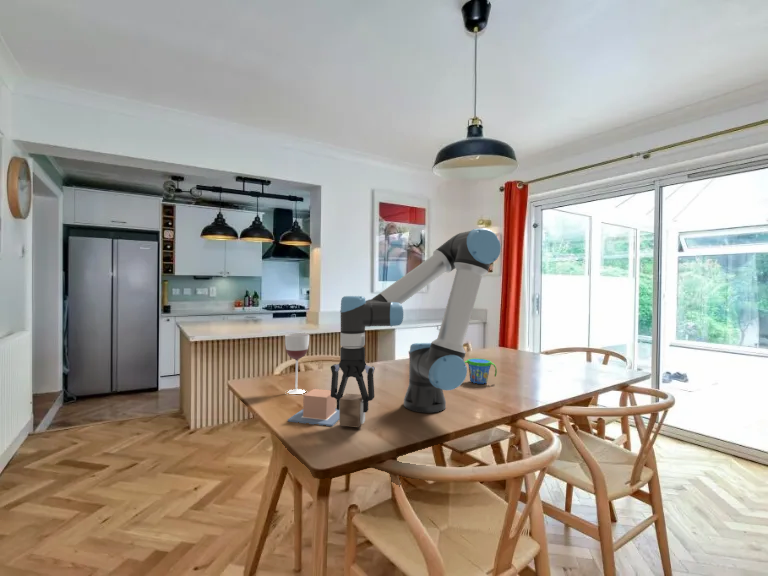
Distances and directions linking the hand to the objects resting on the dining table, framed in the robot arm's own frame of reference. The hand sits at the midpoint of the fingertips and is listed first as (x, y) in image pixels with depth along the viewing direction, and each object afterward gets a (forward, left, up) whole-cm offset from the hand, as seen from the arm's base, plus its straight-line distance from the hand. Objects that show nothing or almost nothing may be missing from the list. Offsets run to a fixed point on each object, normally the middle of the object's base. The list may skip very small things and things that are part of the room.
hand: (352, 421), depth 118 cm
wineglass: (+33, -29, -2) cm, 44 cm away
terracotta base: (+13, -6, -1) cm, 15 cm away
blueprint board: (+13, -6, -2) cm, 15 cm away
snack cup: (-38, -69, -2) cm, 78 cm away
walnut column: (0, 0, 0) cm, 0 cm away
